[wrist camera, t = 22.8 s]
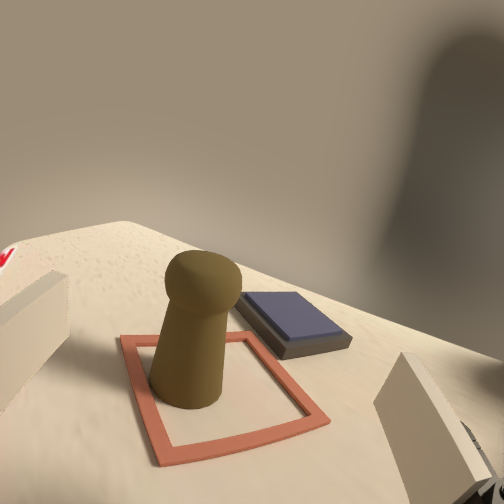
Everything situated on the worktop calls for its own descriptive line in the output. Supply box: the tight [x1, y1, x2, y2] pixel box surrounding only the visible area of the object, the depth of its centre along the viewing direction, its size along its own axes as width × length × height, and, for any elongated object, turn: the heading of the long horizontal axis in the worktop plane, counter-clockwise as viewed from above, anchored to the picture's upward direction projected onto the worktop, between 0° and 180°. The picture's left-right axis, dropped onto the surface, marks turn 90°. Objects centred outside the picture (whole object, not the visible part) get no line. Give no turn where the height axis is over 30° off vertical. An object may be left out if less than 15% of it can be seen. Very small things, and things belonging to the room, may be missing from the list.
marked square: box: [120, 331, 331, 467], centre depth 25 cm, size 14×14×1 cm
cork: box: [149, 250, 242, 409], centre depth 22 cm, size 6×6×11 cm
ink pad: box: [234, 292, 353, 360], centre depth 38 cm, size 12×10×2 cm
